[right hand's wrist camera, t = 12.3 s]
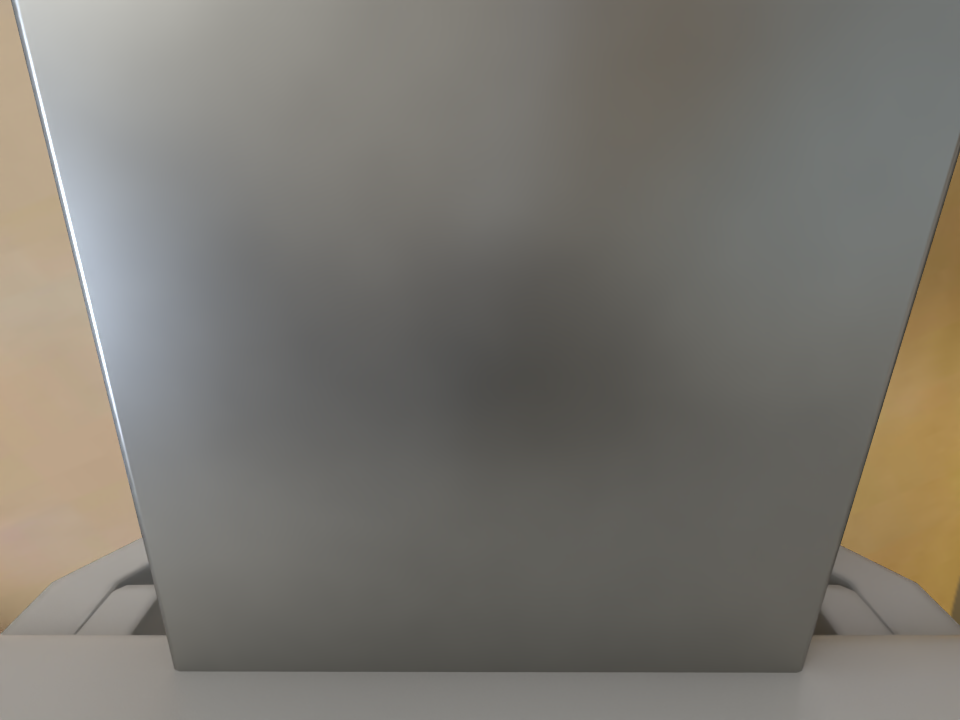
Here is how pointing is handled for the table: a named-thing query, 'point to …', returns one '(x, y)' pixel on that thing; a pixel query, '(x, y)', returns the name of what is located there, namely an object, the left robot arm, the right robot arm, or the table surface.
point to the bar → (496, 312)
